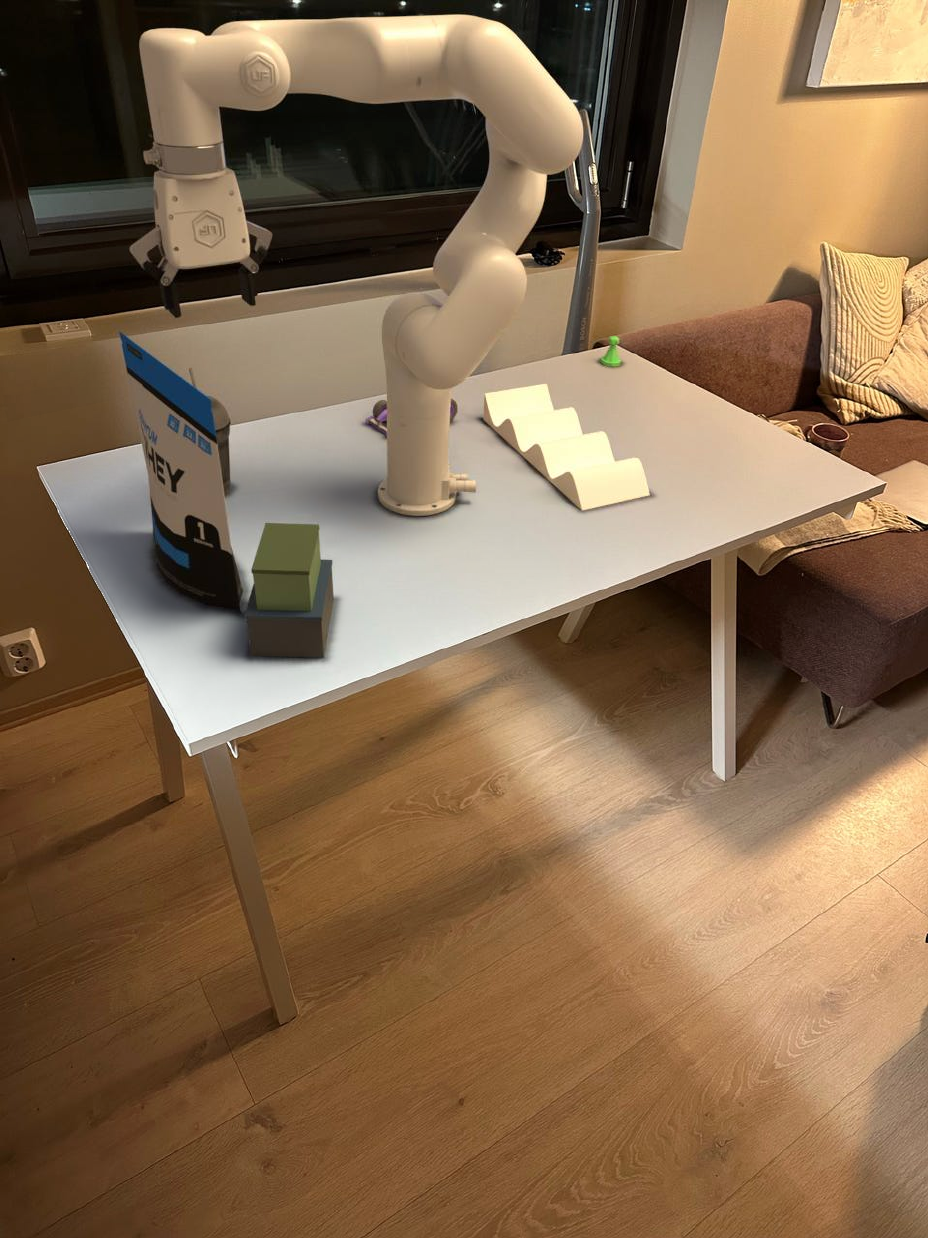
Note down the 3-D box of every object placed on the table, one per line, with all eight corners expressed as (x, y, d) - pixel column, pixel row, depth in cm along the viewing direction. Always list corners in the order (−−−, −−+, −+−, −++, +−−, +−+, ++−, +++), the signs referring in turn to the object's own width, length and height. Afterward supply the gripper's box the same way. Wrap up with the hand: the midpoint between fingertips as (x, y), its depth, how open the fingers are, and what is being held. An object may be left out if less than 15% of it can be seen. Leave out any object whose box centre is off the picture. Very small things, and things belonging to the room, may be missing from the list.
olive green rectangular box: (269, 562, 113) (265, 522, 110) (321, 563, 114) (319, 524, 110) (256, 610, 105) (251, 569, 102) (312, 611, 106) (309, 571, 102)
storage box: (265, 597, 118) (261, 557, 114) (334, 599, 119) (332, 559, 115) (249, 656, 109) (244, 615, 105) (324, 658, 109) (321, 617, 105)
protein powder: (189, 522, 132) (154, 324, 113) (272, 601, 118) (249, 389, 99) (128, 542, 127) (81, 339, 108) (207, 627, 113) (170, 409, 94)
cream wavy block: (582, 510, 140) (586, 482, 137) (483, 419, 164) (484, 393, 161) (649, 495, 145) (655, 467, 142) (543, 408, 169) (546, 383, 166)
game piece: (624, 363, 189) (629, 336, 185) (612, 368, 186) (616, 340, 183) (608, 357, 191) (613, 330, 188) (596, 362, 189) (600, 334, 185)
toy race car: (361, 421, 161) (360, 387, 157) (426, 402, 169) (427, 369, 165) (391, 441, 156) (391, 407, 151) (457, 420, 163) (458, 387, 159)
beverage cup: (228, 504, 136) (210, 381, 124) (184, 497, 137) (162, 375, 125) (246, 481, 142) (231, 362, 130) (204, 475, 143) (185, 356, 130)
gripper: (124, 172, 94) (153, 329, 105) (275, 159, 102) (288, 307, 113) (105, 157, 99) (135, 309, 110) (251, 146, 107) (265, 289, 117)
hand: (212, 308), depth 111 cm, fingers open, 9 cm apart
